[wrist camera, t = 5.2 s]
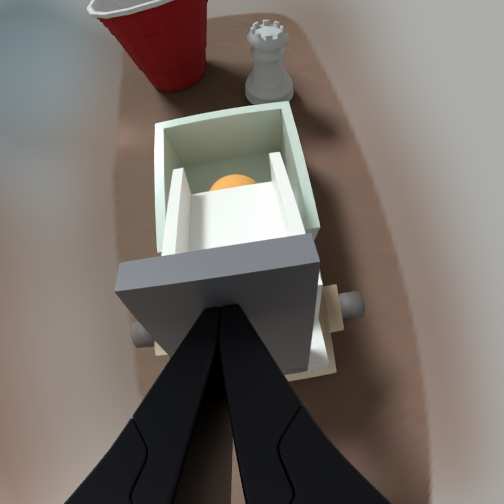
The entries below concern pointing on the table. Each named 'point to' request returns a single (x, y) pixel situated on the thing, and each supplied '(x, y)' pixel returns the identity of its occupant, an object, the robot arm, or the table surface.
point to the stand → (330, 319)
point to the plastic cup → (159, 37)
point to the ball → (232, 182)
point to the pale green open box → (231, 155)
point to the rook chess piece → (268, 65)
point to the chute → (233, 269)
